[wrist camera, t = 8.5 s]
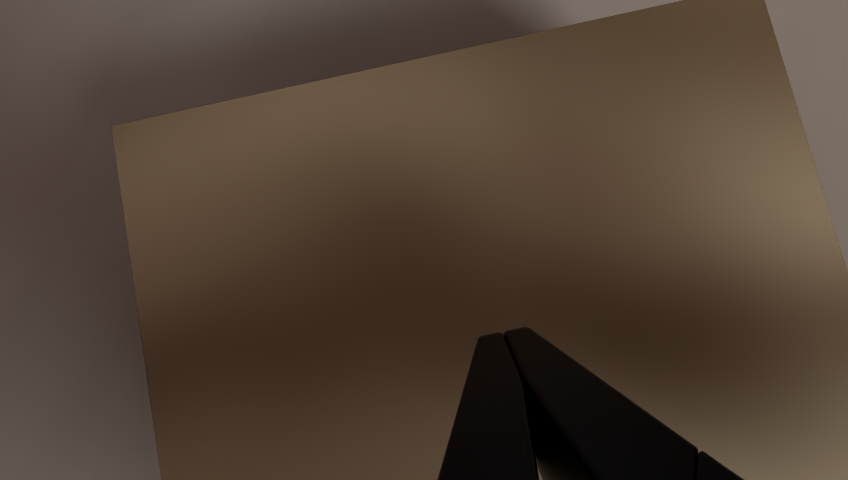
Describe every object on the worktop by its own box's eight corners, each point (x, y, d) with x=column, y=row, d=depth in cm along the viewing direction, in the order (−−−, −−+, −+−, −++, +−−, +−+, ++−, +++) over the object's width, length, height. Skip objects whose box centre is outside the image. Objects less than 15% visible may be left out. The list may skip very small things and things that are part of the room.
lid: (915, 570, 10) (943, 585, 10) (211, 709, 11) (197, 733, 10) (743, -1, 12) (759, -17, 11) (127, 134, 12) (111, 125, 12)
